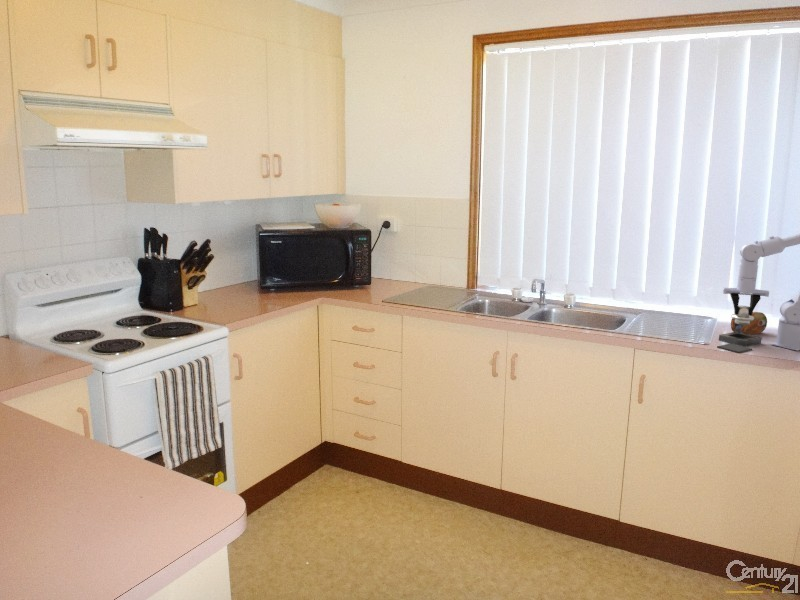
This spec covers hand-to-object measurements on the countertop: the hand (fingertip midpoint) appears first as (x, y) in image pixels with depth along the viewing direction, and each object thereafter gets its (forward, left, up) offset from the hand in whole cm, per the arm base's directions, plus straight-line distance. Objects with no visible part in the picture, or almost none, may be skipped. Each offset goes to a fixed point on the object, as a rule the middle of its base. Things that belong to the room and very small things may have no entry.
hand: (743, 314), depth 235 cm
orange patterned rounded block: (+6, -14, -10) cm, 19 cm away
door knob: (0, 0, -3) cm, 3 cm away
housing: (0, 0, -10) cm, 10 cm away
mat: (-5, +11, -10) cm, 16 cm away
